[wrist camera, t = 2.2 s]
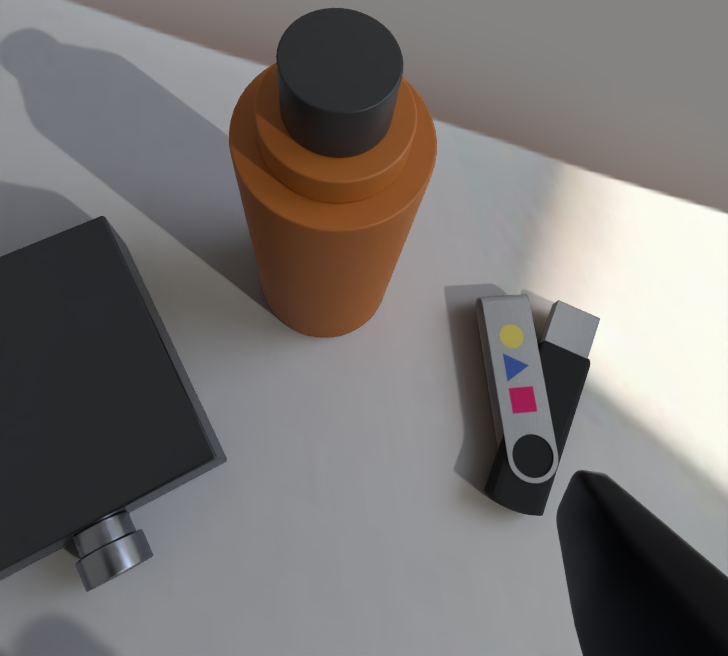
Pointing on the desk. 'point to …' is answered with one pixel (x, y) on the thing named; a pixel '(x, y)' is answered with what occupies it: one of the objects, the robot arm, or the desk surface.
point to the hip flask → (88, 405)
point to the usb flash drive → (531, 393)
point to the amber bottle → (331, 169)
